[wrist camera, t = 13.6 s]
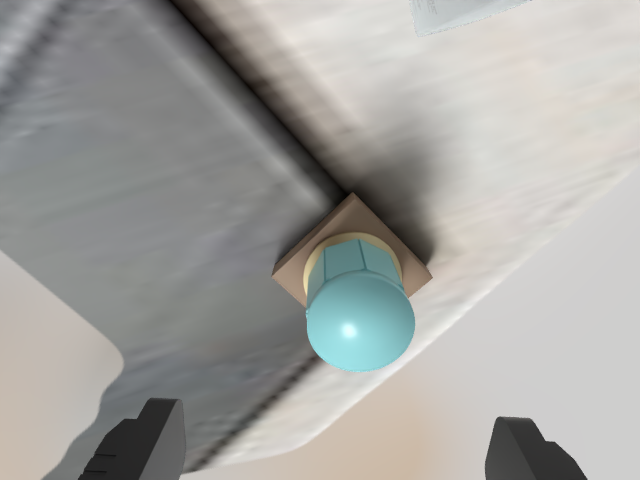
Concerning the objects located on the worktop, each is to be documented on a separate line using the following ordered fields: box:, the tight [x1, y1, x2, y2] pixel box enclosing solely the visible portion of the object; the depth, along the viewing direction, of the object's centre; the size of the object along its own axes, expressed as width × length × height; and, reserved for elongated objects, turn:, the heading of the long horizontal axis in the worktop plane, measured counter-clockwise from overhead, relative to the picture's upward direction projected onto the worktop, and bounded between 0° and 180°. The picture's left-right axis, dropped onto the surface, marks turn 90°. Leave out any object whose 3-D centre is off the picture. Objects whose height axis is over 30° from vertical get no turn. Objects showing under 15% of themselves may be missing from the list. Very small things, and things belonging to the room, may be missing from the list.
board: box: [271, 192, 433, 307], centre depth 29 cm, size 8×8×6 cm
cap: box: [306, 238, 415, 372], centre depth 26 cm, size 6×6×6 cm
